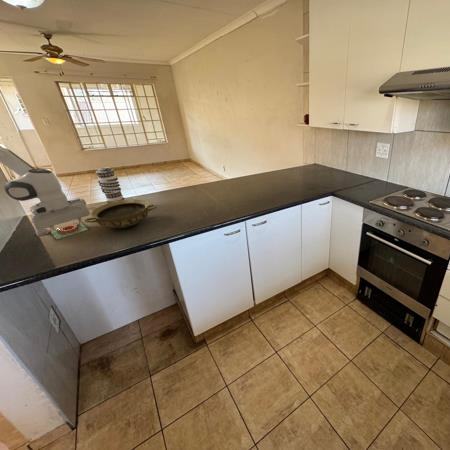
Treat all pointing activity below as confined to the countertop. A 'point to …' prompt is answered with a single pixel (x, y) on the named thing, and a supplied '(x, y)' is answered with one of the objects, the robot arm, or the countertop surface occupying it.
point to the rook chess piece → (41, 231)
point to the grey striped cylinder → (109, 184)
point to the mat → (69, 233)
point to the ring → (69, 229)
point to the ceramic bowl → (121, 213)
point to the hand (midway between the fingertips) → (69, 229)
